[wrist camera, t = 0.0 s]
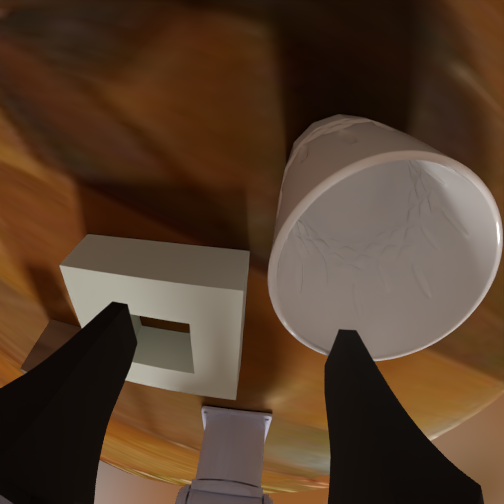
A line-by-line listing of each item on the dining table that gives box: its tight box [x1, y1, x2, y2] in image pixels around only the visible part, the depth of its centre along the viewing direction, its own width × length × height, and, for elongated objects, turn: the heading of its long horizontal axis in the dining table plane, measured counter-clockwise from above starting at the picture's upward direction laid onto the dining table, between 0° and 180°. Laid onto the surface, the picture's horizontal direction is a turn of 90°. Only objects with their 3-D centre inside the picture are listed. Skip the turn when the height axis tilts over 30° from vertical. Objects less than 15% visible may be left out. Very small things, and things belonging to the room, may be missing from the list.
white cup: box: [268, 114, 503, 361], centre depth 13 cm, size 8×8×10 cm
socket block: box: [60, 234, 250, 400], centre depth 22 cm, size 12×12×4 cm
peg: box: [20, 319, 82, 374], centre depth 25 cm, size 4×4×7 cm
